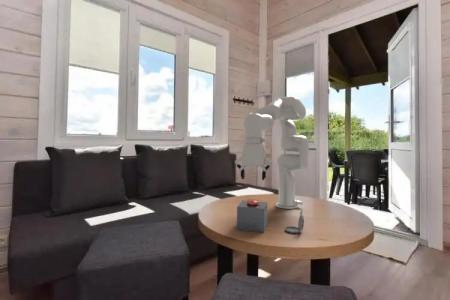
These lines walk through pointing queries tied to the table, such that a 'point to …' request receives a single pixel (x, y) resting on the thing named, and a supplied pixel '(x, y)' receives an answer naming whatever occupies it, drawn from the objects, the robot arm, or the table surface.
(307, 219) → the table surface
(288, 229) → the pocket watch
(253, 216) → the block
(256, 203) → the lynch pin
